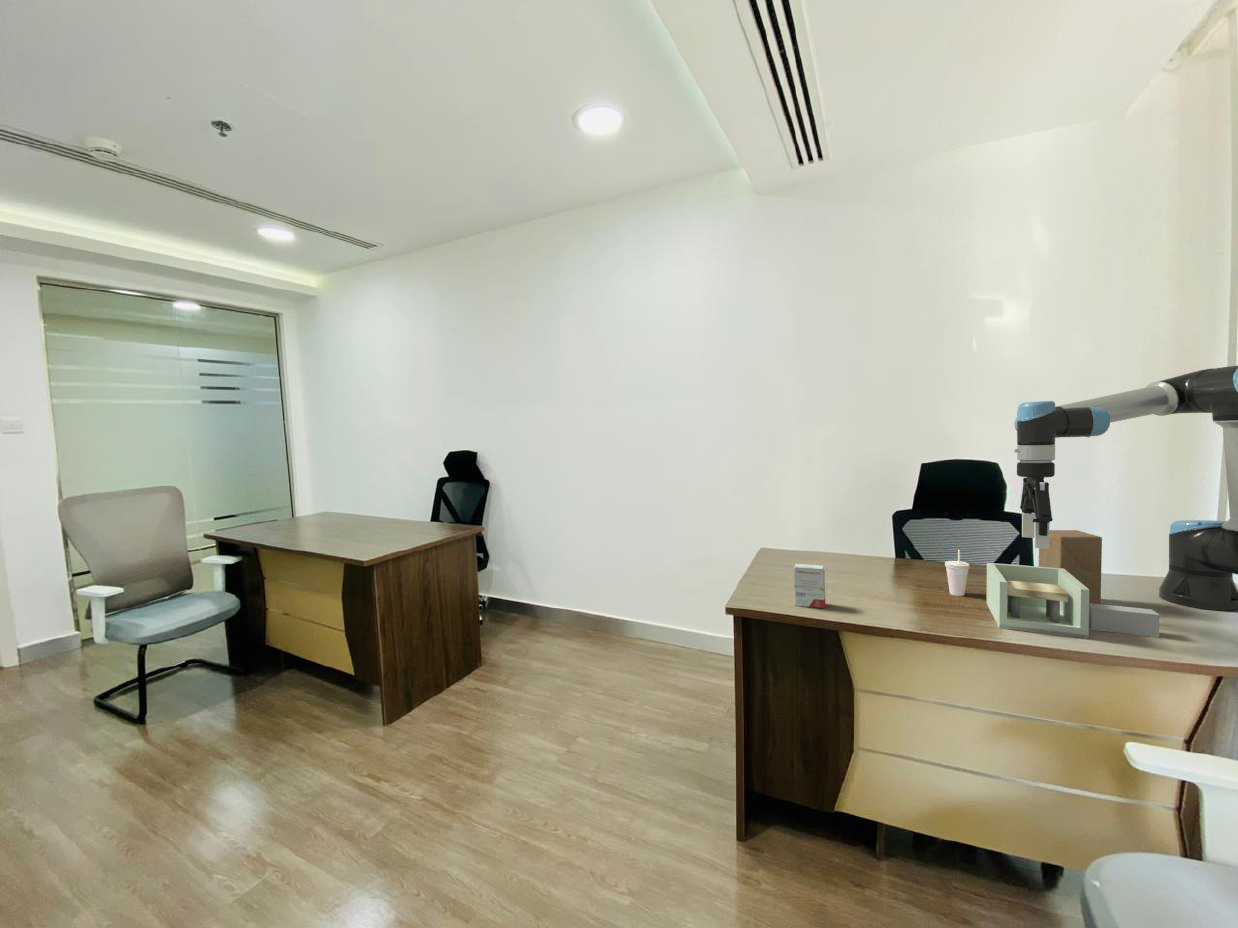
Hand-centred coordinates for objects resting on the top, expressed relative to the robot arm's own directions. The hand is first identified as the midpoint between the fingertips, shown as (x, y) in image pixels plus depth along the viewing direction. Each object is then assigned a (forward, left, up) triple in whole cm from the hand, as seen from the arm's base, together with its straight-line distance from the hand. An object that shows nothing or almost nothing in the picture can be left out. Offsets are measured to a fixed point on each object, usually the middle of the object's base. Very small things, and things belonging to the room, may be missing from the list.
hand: (1034, 542), depth 129 cm
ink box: (+54, +10, -21) cm, 59 cm away
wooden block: (-12, -21, -21) cm, 32 cm away
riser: (-17, 0, -21) cm, 27 cm away
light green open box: (0, 0, -21) cm, 21 cm away
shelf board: (0, 0, -14) cm, 14 cm away
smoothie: (+15, -17, -21) cm, 31 cm away
